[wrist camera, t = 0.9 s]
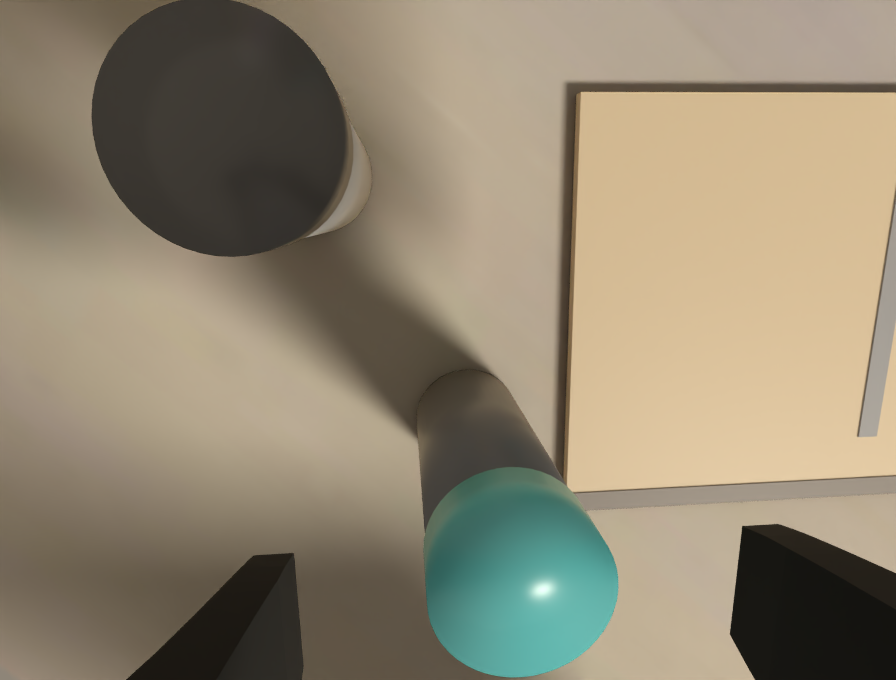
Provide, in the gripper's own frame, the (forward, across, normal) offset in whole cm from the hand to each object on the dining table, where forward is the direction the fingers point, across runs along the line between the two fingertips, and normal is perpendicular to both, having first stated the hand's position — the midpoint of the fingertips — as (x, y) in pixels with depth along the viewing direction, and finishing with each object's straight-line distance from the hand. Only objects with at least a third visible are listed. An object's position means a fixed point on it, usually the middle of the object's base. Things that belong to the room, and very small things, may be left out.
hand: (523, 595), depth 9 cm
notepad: (+8, -11, -3) cm, 14 cm away
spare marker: (+8, +4, -7) cm, 11 cm away
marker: (+8, 0, 0) cm, 8 cm away
